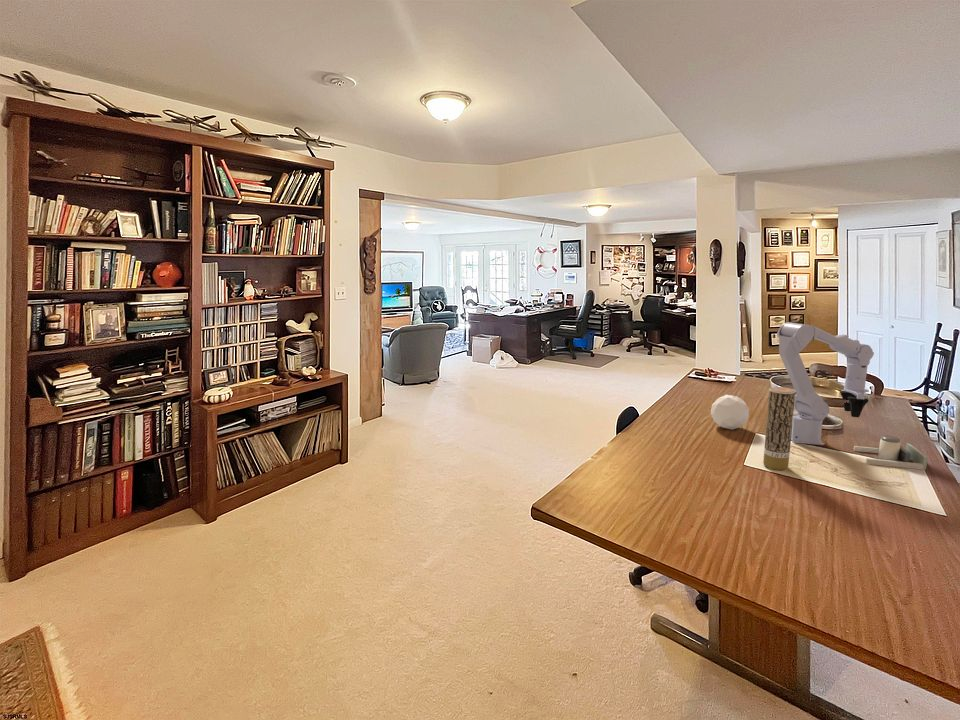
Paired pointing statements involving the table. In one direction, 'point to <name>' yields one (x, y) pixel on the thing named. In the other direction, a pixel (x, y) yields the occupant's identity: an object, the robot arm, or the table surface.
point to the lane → (915, 456)
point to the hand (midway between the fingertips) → (851, 413)
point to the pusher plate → (903, 455)
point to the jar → (889, 448)
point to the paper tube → (779, 427)
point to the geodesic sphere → (729, 412)
